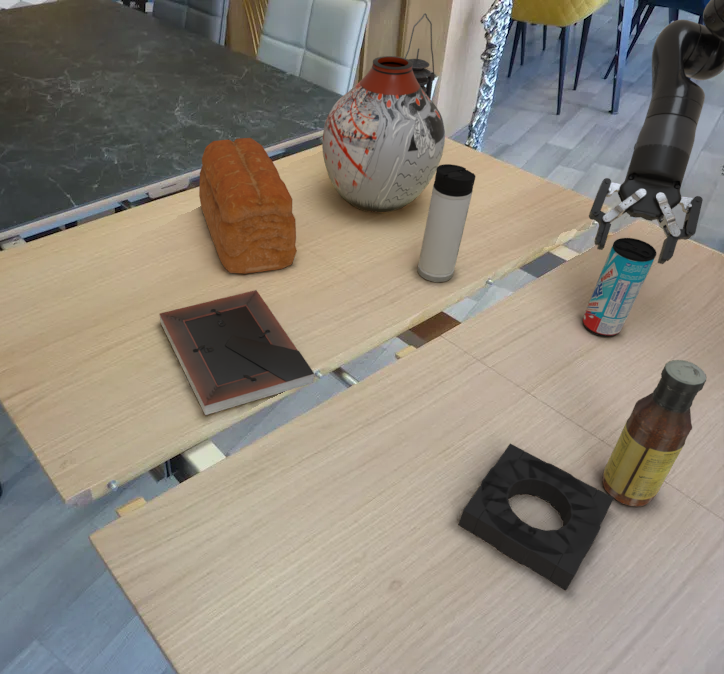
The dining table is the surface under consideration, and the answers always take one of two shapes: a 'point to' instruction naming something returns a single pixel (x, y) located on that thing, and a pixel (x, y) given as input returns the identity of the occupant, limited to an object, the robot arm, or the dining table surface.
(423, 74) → the lantern
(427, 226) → the travel mug
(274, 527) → the dining table surface
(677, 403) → the sauce bottle
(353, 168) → the vase
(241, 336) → the picture frame
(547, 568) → the pad
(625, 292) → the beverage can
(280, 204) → the bread
